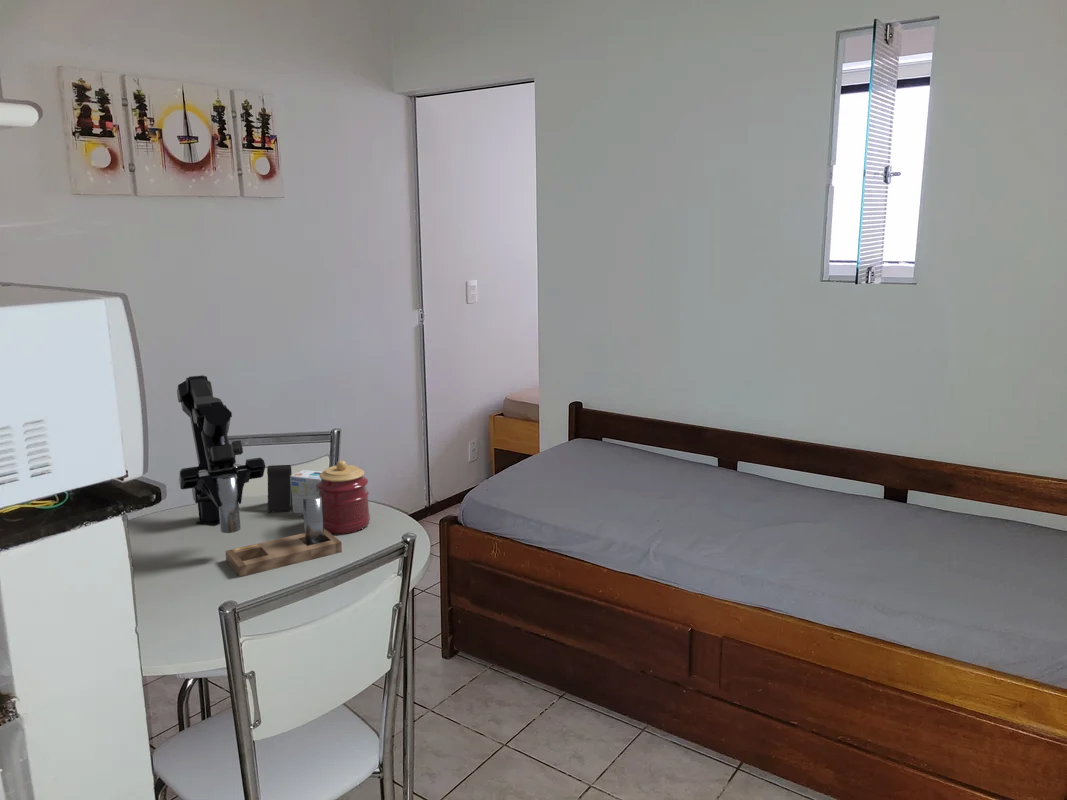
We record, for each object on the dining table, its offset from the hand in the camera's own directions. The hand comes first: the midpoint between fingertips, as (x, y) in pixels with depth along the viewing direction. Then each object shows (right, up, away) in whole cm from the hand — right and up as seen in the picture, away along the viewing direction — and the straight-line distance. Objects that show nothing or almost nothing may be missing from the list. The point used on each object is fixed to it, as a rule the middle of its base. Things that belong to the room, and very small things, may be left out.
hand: (229, 504), depth 184 cm
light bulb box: (+11, -6, +34) cm, 36 cm away
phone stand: (0, -6, +38) cm, 38 cm away
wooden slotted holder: (+12, -13, +4) cm, 18 cm away
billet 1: (-1, -6, +3) cm, 7 cm away
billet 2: (+18, -12, +8) cm, 23 cm away
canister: (+21, -9, +23) cm, 33 cm away
